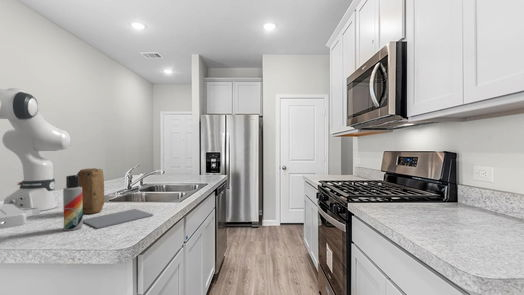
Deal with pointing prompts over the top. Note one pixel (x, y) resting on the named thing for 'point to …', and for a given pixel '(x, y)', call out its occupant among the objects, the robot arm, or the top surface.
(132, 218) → the mat
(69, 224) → the lotion bottle
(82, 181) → the block
